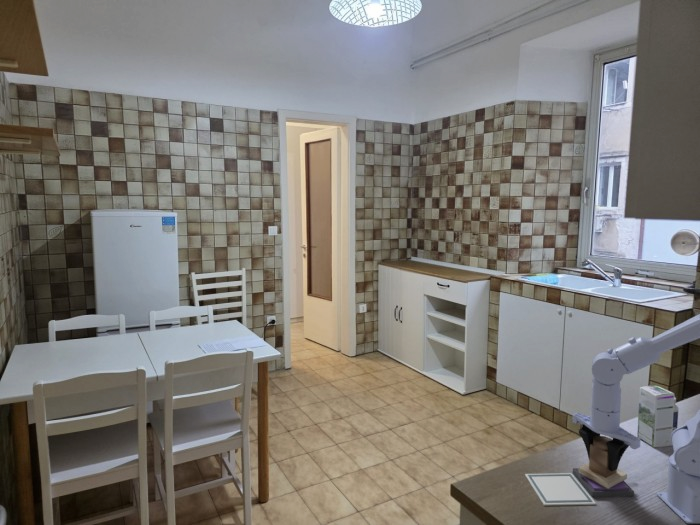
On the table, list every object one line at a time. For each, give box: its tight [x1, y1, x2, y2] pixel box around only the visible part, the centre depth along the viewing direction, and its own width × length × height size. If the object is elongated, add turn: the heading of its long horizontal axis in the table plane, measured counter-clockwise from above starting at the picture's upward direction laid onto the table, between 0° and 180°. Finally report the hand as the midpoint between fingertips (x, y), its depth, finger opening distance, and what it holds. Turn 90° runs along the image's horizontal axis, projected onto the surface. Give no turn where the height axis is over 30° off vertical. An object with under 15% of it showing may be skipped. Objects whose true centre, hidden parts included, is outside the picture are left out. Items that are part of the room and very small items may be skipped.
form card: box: [524, 472, 597, 506], centre depth 102 cm, size 11×11×1 cm
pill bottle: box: [672, 396, 679, 432], centre depth 127 cm, size 5×5×10 cm
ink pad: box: [572, 467, 635, 498], centre depth 104 cm, size 9×9×2 cm
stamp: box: [578, 435, 628, 489], centre depth 103 cm, size 7×7×9 cm
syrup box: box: [636, 384, 675, 448], centre depth 120 cm, size 6×6×14 cm
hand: (602, 464), depth 103 cm, fingers closed on stamp, 4 cm apart
